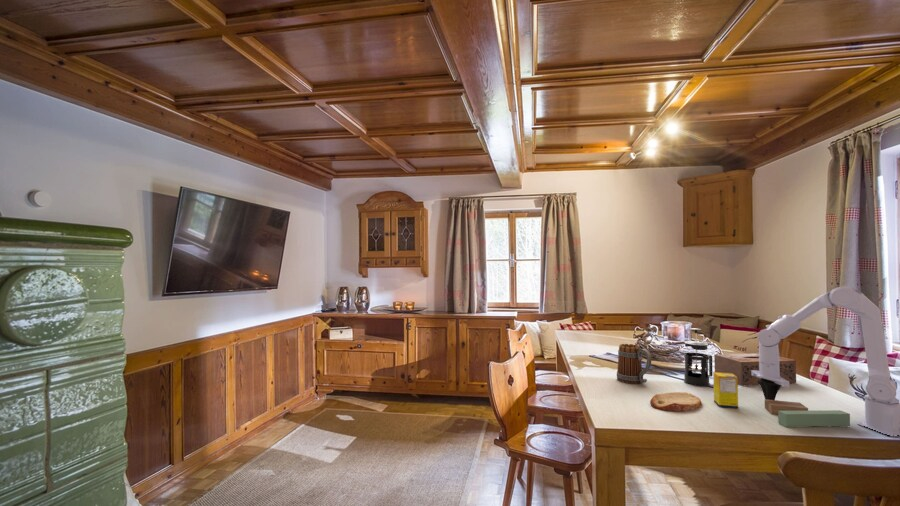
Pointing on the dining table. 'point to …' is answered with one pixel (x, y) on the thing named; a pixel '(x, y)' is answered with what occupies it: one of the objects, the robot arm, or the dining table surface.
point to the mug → (632, 364)
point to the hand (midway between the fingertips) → (769, 401)
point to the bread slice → (675, 402)
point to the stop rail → (813, 418)
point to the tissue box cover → (751, 367)
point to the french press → (691, 377)
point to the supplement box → (725, 390)
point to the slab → (783, 406)
